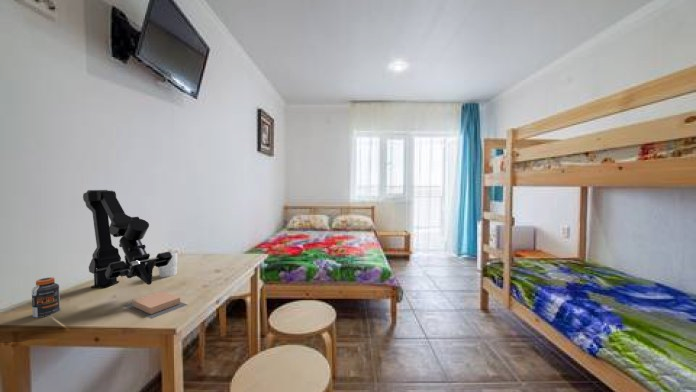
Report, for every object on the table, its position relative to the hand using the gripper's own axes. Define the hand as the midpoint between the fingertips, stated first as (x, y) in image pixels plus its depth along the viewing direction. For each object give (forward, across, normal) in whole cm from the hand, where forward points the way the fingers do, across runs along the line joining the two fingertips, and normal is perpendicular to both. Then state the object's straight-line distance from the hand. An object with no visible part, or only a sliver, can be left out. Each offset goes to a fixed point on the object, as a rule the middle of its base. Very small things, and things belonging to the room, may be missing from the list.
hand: (150, 283), depth 95 cm
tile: (+2, 0, -5) cm, 6 cm away
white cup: (-14, -20, -25) cm, 34 cm away
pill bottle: (-10, +20, -21) cm, 30 cm away
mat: (+7, 0, -3) cm, 8 cm away
